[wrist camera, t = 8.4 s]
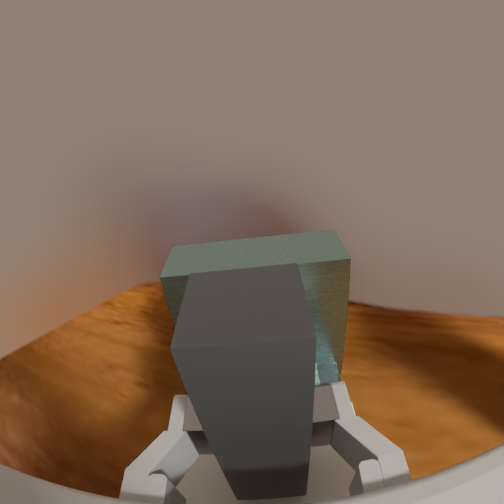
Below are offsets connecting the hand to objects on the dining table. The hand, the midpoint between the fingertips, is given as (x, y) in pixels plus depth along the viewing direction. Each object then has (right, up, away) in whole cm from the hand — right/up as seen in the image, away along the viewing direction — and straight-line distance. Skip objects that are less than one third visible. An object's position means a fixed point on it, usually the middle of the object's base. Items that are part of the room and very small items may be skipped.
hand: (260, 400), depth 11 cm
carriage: (+1, -6, +2) cm, 7 cm away
